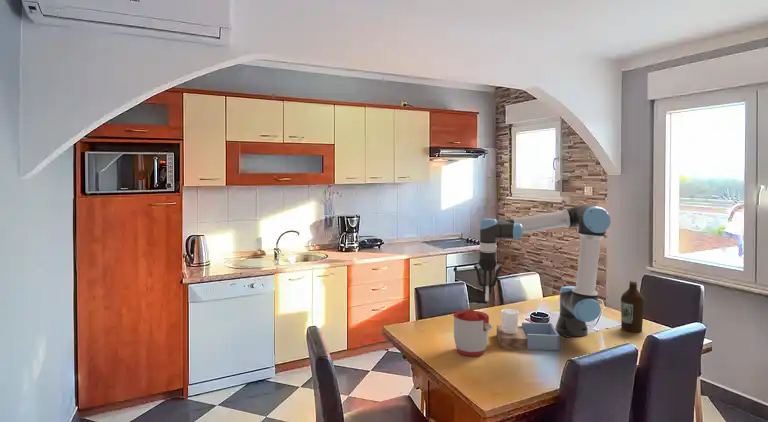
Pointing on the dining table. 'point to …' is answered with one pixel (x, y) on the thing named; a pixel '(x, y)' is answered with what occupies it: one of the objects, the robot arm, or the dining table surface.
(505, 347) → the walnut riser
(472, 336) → the citrus juicer
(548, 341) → the box
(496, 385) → the dining table surface
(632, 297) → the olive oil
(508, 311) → the white cup
